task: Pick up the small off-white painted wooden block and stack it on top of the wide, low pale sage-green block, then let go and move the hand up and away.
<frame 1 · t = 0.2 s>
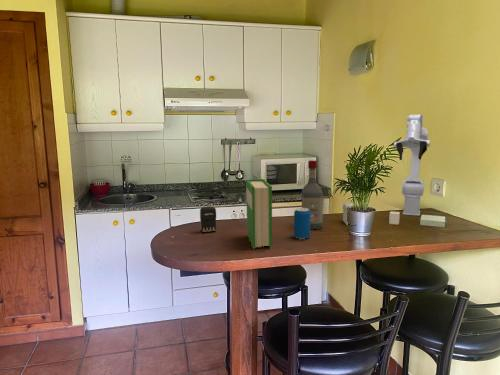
hand: (409, 158, 168), 31 cm above the counter, tool tilted 45°, fingers open, 7 cm apart
cream block: (394, 223, 181), on the counter
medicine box: (349, 223, 182), on the counter
liquor: (311, 227, 176), on the counter
beverage can: (302, 238, 161), on the counter
sage block: (432, 223, 179), on the counter
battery: (208, 232, 171), on the counter
hardback book: (259, 242, 156), on the counter
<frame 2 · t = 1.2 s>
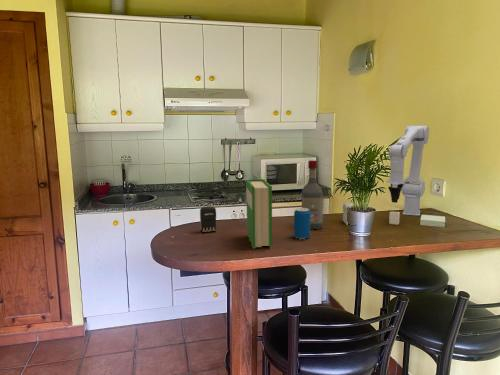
hand: (395, 200, 179), 11 cm above the counter, tool pointing down, fingers open, 7 cm apart
nothing on the counter moved.
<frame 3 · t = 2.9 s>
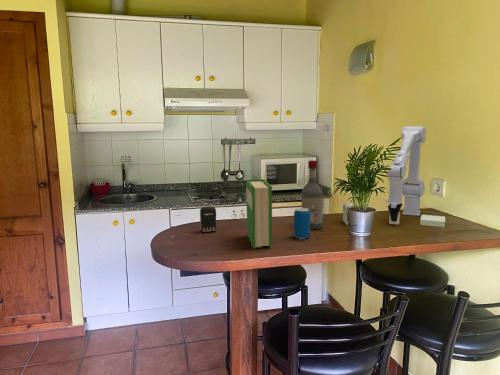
hand: (394, 220, 180), 1 cm above the counter, tool pointing down, fingers closed on cream block, 4 cm apart
cream block: (394, 223, 181), on the counter, touching gripper
everything else where it was.
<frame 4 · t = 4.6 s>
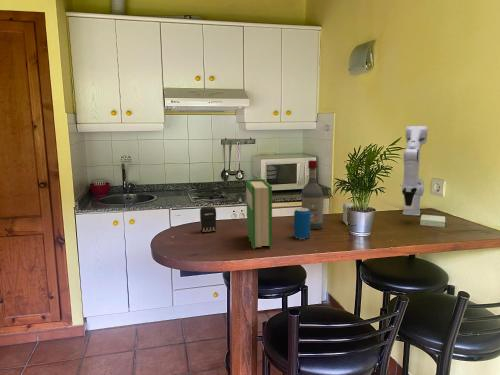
hand: (408, 204, 179), 9 cm above the counter, tool pointing down, fingers closed on cream block, 4 cm apart
cream block: (408, 207, 179), point 7 cm above the counter, touching gripper
everything else where it was.
when the fingers open (5 cm above the counter, at t = 6.5 s): cream block stays where it is, resting on sage block.
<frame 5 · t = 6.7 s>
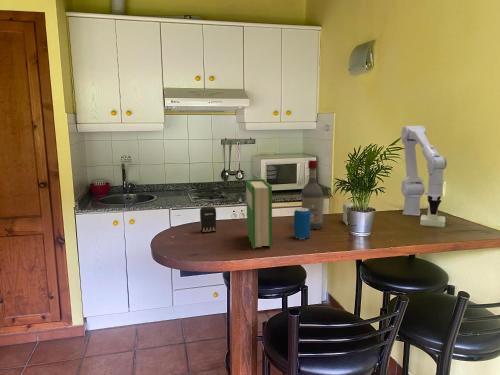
hand: (433, 212, 178), 5 cm above the counter, tool pointing down, fingers open, 5 cm apart
cream block: (432, 218, 179), point 2 cm above the counter, touching sage block
everything else where it was.
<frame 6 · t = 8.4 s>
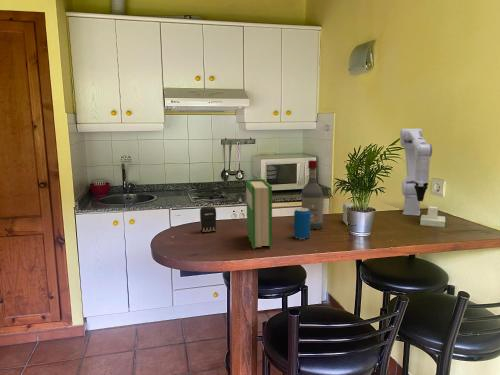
hand: (420, 199, 181), 10 cm above the counter, tool pointing down, fingers open, 7 cm apart
nothing on the counter moved.
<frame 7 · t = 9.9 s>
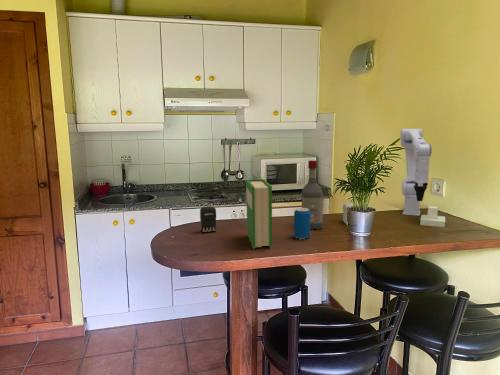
hand: (420, 199, 181), 10 cm above the counter, tool pointing down, fingers open, 7 cm apart
nothing on the counter moved.
at the end: cream block inside the target area on the sage block (0.3 cm from its centre), point 2.5 cm above the sage block's base; cream block tilted 0°; the gripper is holding nothing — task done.
